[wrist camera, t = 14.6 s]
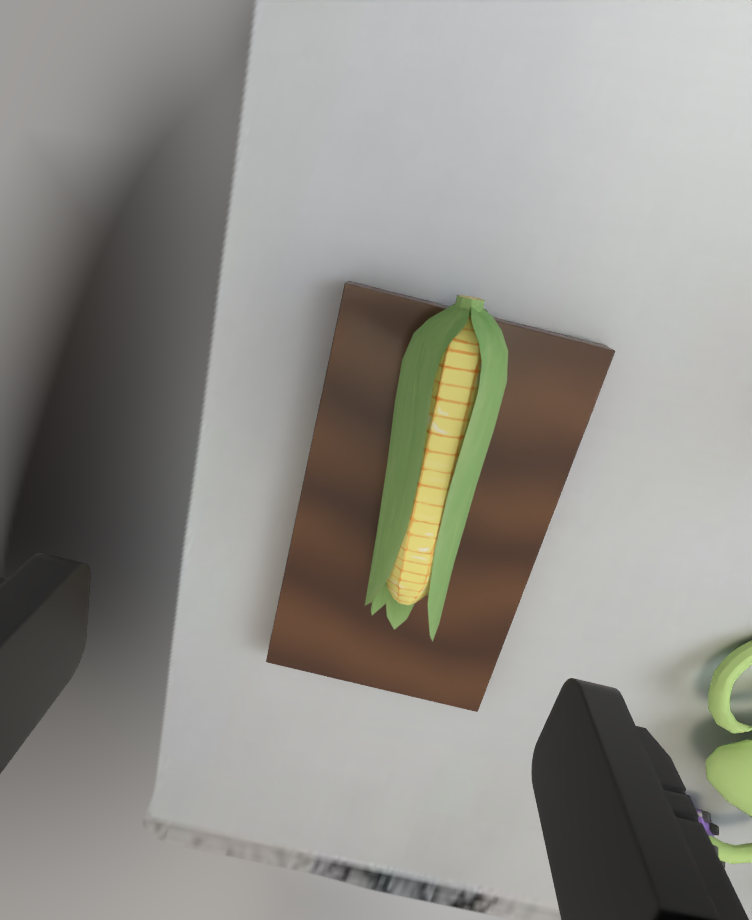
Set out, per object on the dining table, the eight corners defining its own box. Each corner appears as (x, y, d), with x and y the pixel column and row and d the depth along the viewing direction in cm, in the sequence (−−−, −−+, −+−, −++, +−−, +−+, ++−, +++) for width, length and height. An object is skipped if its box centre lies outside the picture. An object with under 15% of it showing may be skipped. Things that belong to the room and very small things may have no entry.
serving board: (348, 280, 31) (345, 283, 30) (606, 345, 32) (615, 350, 30) (271, 647, 40) (265, 662, 38) (475, 695, 40) (477, 712, 39)
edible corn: (519, 301, 30) (535, 313, 25) (436, 632, 37) (438, 685, 33) (415, 283, 30) (415, 291, 25) (353, 617, 37) (344, 667, 33)
